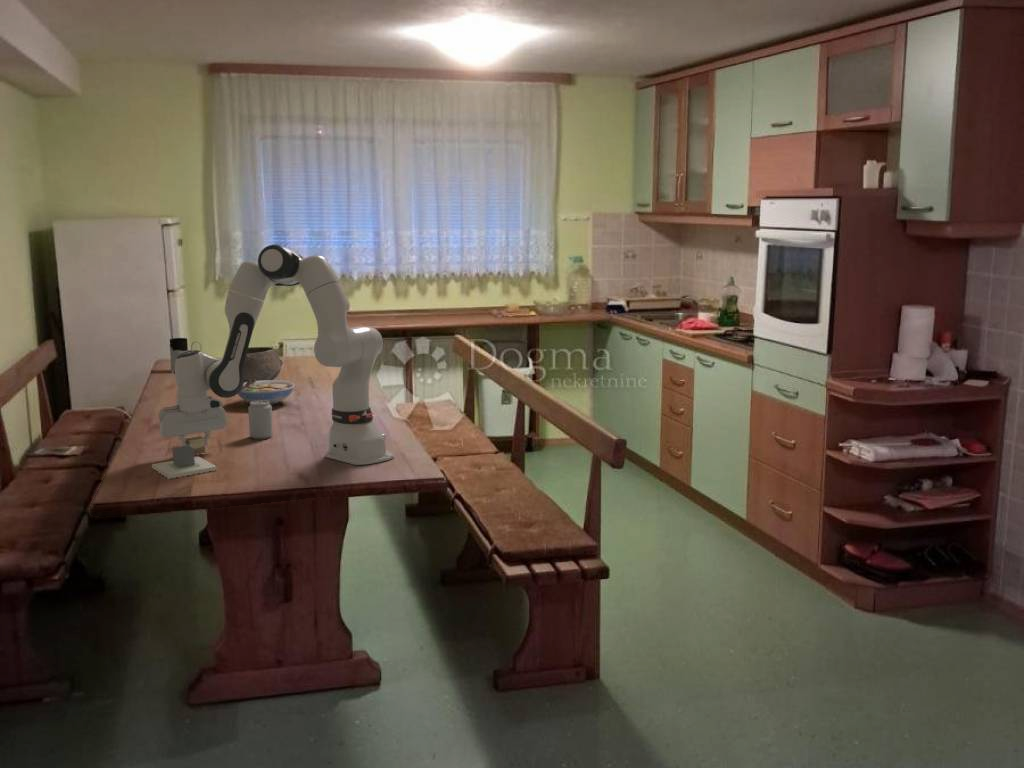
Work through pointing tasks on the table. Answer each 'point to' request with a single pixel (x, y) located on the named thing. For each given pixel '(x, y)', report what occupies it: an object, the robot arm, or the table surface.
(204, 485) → the table surface
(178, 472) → the build board
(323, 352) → the robot arm
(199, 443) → the birch block
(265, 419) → the can
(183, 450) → the grey block
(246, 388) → the ramen bowl
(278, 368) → the clay pot
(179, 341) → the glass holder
